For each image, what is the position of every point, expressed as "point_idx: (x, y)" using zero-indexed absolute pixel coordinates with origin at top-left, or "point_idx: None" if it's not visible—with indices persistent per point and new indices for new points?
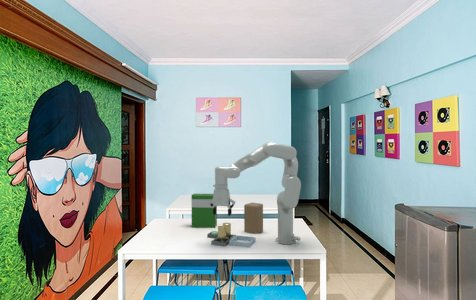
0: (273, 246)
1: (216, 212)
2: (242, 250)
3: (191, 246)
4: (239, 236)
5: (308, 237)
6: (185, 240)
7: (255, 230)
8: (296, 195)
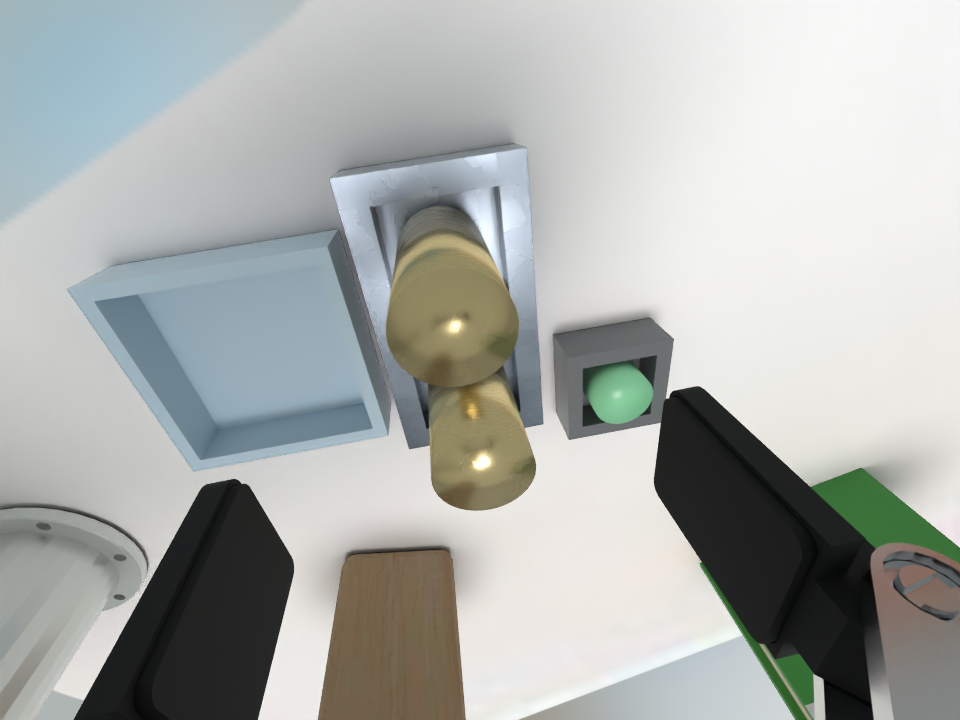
0: (15, 438)
1: (672, 508)
2: (130, 196)
3: (721, 10)
4: (352, 428)
5: None
6: (842, 175)
7: (345, 586)
8: None
